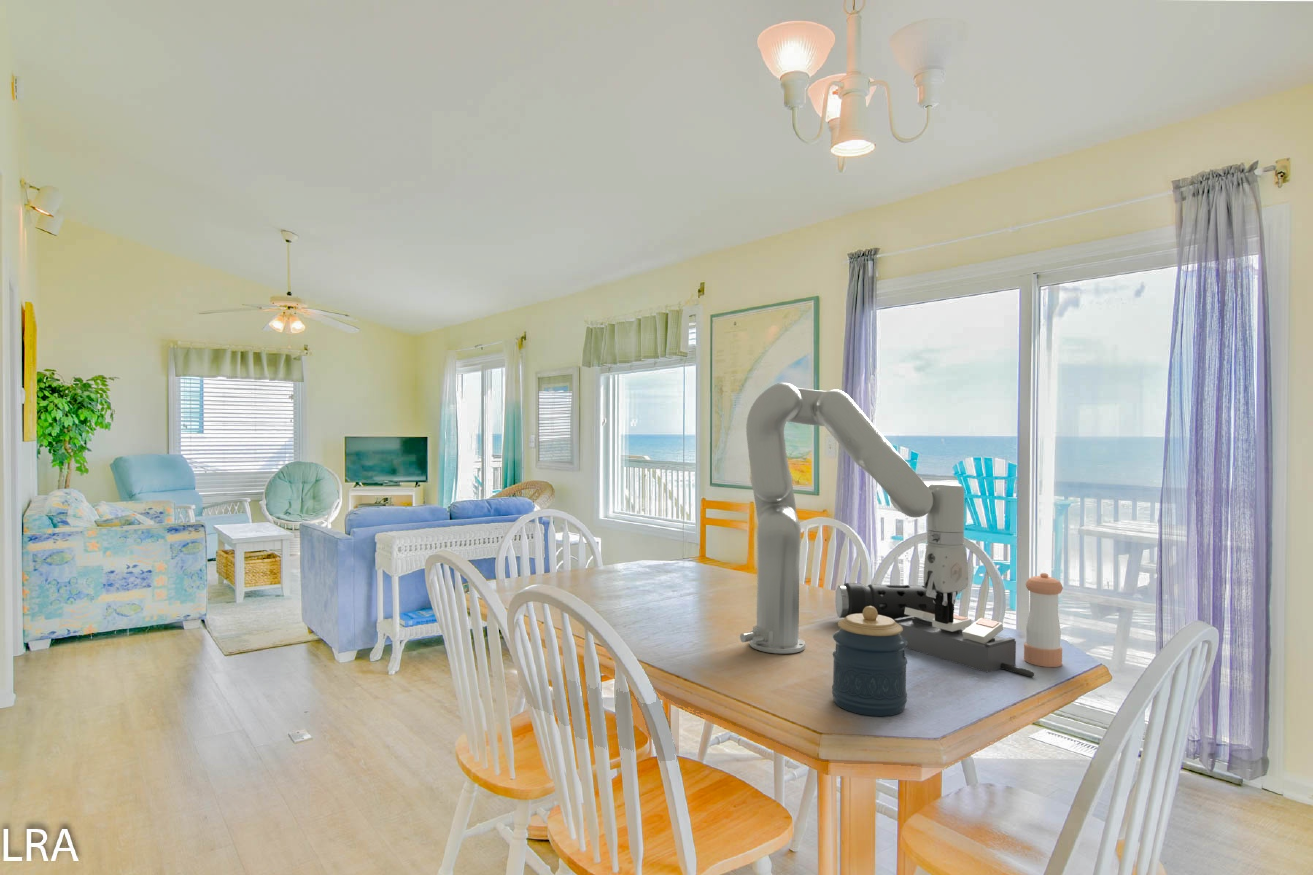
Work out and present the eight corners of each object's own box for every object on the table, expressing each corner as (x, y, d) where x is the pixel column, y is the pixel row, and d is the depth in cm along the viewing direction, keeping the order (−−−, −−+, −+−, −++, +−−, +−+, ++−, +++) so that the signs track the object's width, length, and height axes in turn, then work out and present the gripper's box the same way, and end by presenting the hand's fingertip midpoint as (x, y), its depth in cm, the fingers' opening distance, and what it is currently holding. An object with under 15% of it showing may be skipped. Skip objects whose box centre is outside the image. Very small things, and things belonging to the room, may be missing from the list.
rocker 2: (952, 631, 159) (951, 623, 158) (932, 626, 163) (932, 618, 163) (971, 625, 162) (971, 618, 162) (951, 620, 167) (951, 613, 167)
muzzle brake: (954, 629, 183) (955, 588, 183) (842, 627, 184) (843, 586, 184) (940, 620, 193) (941, 581, 193) (834, 618, 193) (834, 579, 193)
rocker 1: (922, 618, 165) (923, 610, 165) (904, 613, 169) (905, 606, 169) (940, 623, 168) (942, 616, 169) (922, 618, 173) (923, 611, 173)
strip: (1019, 682, 144) (1020, 653, 144) (892, 643, 170) (892, 618, 170) (1047, 673, 150) (1047, 645, 150) (919, 637, 175) (920, 613, 175)
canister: (833, 687, 140) (835, 595, 139) (905, 695, 136) (906, 601, 136) (829, 712, 127) (831, 611, 127) (908, 721, 123) (909, 617, 123)
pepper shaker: (1023, 663, 156) (1025, 574, 156) (1024, 654, 162) (1025, 568, 162) (1062, 669, 152) (1064, 577, 152) (1061, 659, 159) (1063, 572, 159)
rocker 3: (984, 643, 152) (983, 636, 152) (963, 638, 157) (961, 630, 156) (1003, 629, 156) (1002, 622, 156) (981, 624, 160) (980, 617, 160)
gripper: (938, 543, 153) (937, 630, 153) (981, 538, 162) (980, 621, 162) (908, 538, 160) (907, 622, 160) (951, 534, 168) (950, 613, 168)
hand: (944, 621), depth 161 cm, fingers closed
